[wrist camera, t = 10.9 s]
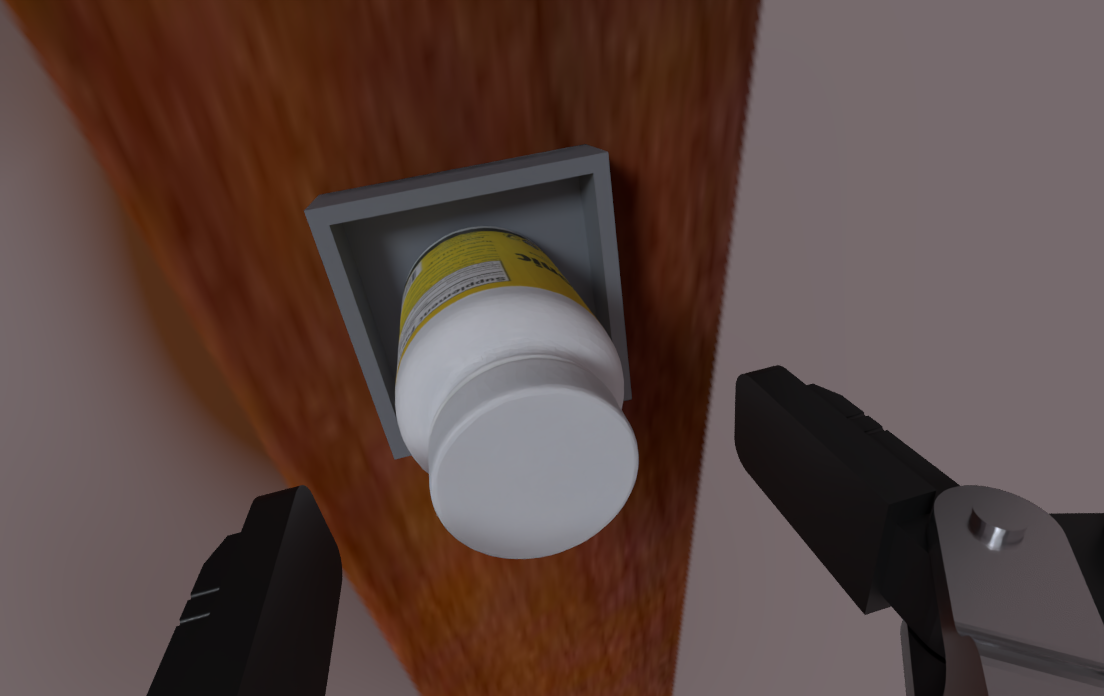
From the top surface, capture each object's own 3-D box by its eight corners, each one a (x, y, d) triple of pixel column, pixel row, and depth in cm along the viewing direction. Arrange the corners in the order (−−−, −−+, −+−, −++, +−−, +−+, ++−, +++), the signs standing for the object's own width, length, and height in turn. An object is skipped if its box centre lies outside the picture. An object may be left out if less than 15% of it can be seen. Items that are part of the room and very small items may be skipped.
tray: (318, 195, 17) (303, 210, 14) (585, 143, 18) (608, 151, 16) (397, 421, 21) (394, 459, 18) (611, 368, 22) (631, 399, 20)
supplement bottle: (583, 326, 20) (707, 510, 11) (453, 393, 20) (477, 628, 11) (519, 191, 17) (616, 297, 9) (369, 268, 17) (318, 451, 9)
